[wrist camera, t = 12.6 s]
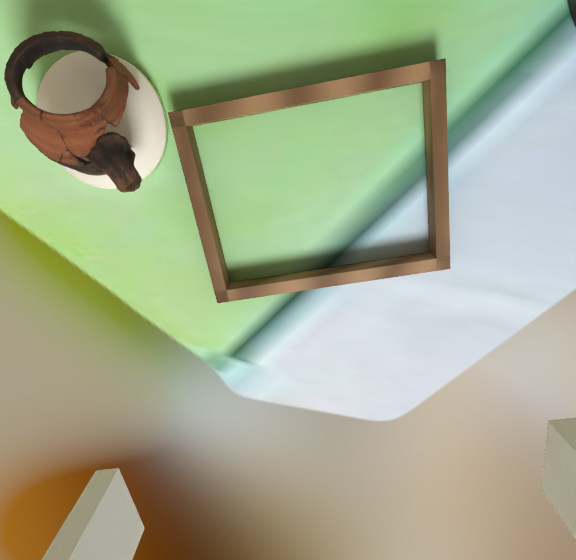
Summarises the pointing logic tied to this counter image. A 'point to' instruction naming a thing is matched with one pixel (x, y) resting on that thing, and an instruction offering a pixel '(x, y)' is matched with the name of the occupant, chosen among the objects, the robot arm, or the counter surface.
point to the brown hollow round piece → (77, 113)
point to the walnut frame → (407, 75)
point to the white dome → (87, 90)
